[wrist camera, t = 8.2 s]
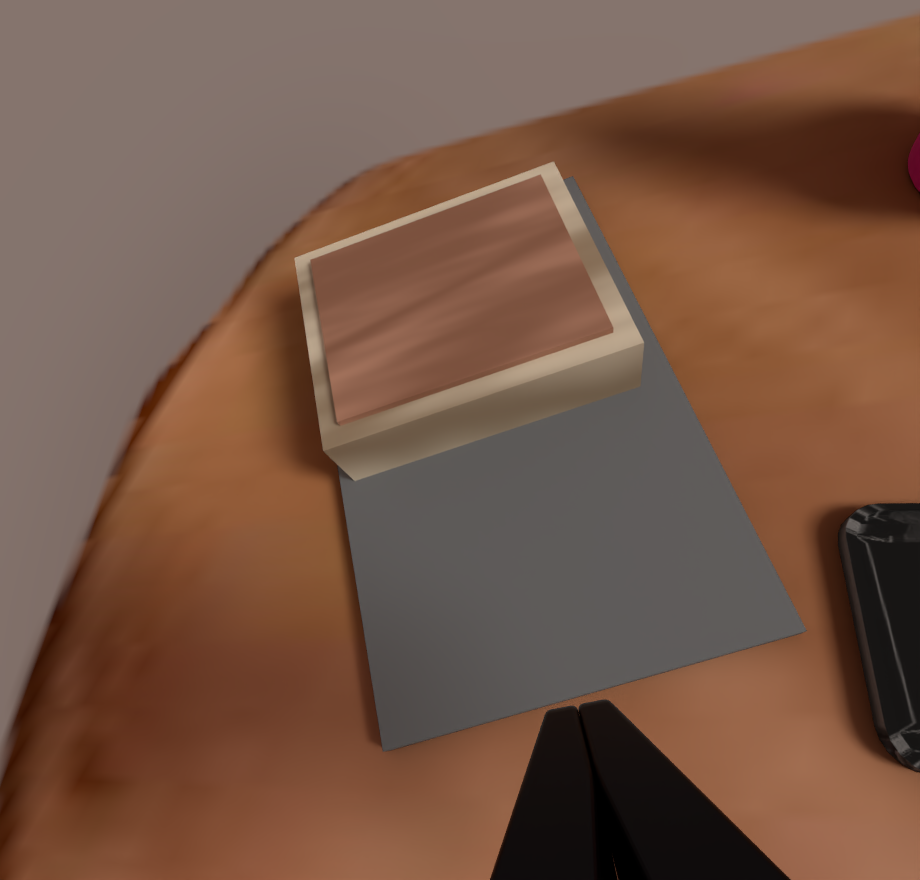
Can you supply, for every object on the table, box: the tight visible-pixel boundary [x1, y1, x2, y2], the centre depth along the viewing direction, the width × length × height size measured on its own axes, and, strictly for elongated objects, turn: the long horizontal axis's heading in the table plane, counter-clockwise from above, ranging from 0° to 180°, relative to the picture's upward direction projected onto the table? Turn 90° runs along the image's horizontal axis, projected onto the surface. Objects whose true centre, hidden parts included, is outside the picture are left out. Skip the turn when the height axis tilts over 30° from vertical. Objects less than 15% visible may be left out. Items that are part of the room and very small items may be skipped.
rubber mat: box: [337, 176, 806, 751], centre depth 24 cm, size 22×14×1 cm, turn 14°
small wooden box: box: [295, 162, 644, 481], centre depth 24 cm, size 3×12×10 cm
